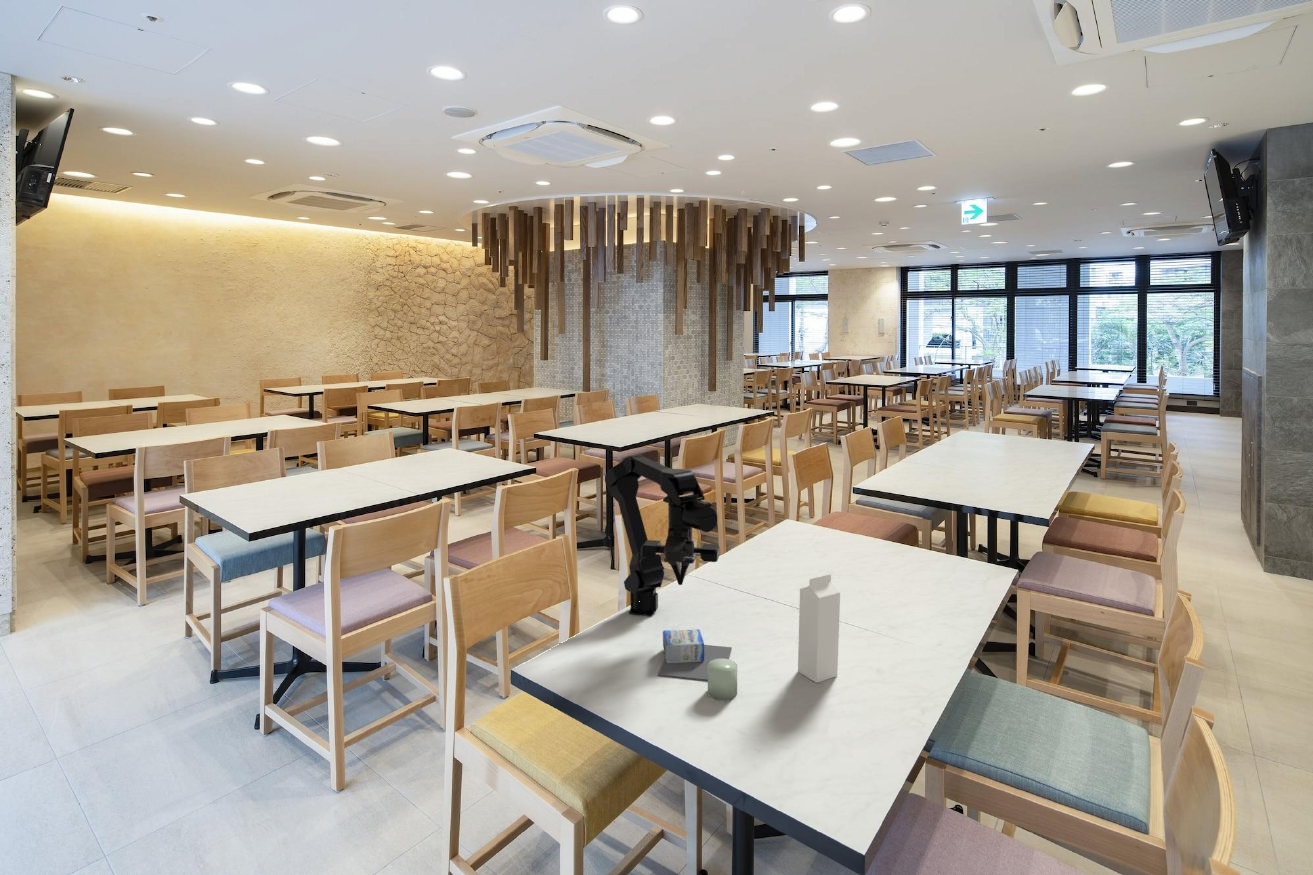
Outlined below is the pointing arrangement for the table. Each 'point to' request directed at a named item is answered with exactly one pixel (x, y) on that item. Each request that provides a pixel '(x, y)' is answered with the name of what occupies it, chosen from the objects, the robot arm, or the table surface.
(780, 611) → the table surface
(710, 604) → the table surface
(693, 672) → the mat
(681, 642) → the medicine box
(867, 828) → the table surface
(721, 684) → the pale green cylinder
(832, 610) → the milk
